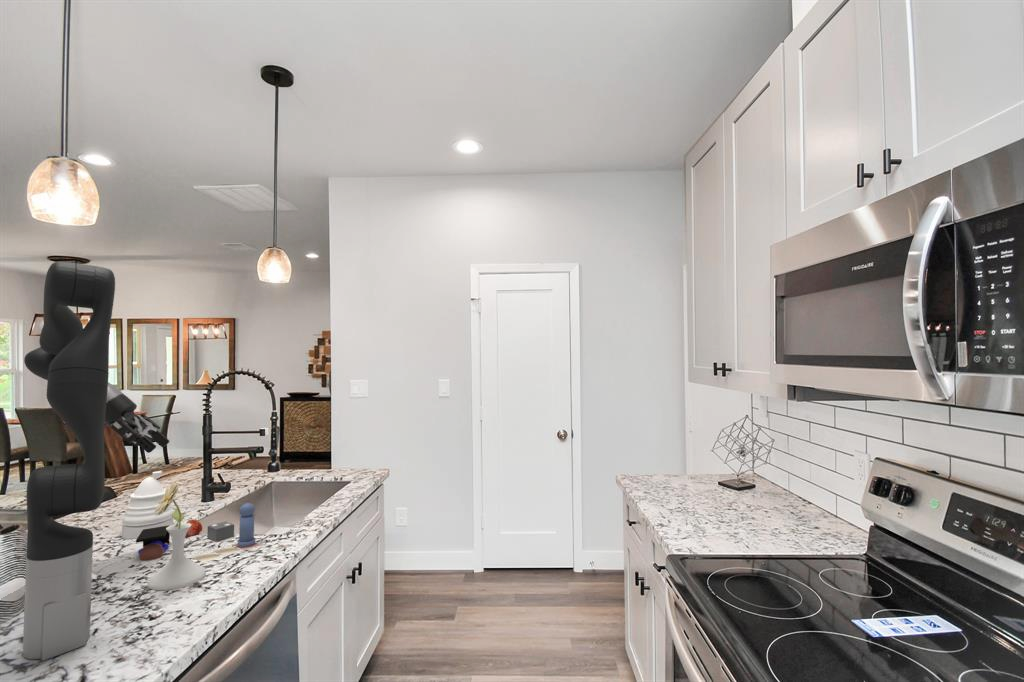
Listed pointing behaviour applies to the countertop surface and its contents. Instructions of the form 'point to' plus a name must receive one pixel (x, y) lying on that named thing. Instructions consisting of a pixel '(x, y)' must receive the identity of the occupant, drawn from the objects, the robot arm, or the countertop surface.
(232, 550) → the board
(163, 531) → the figurine character
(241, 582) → the countertop surface
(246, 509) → the pawn
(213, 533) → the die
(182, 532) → the flower in vase
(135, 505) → the honey pot
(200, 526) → the pomegranate
